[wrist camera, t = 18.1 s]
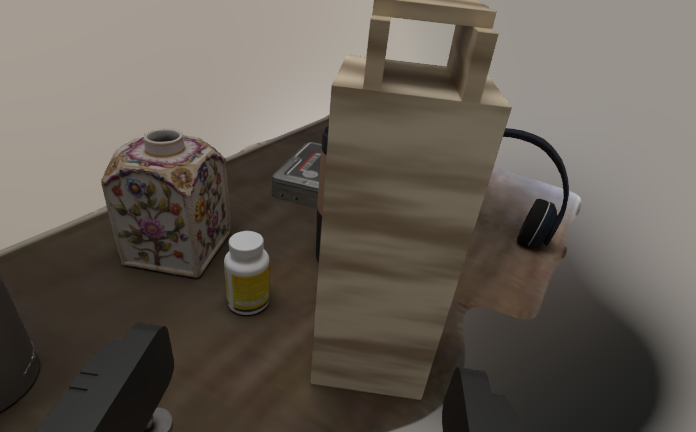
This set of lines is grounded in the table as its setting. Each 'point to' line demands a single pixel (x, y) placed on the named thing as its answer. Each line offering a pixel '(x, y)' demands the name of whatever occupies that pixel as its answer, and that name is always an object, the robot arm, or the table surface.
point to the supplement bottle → (247, 273)
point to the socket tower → (402, 198)
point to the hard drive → (299, 176)
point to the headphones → (542, 213)
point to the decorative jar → (168, 202)
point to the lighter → (160, 421)
